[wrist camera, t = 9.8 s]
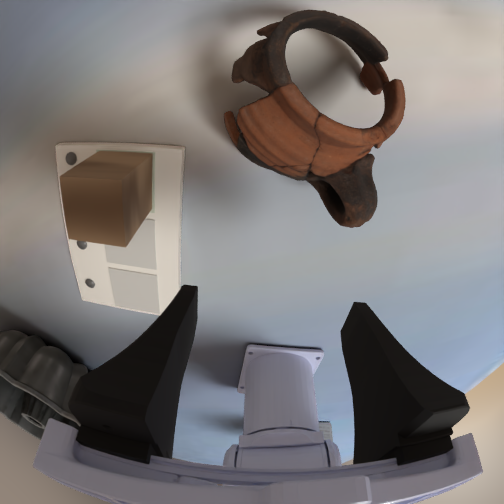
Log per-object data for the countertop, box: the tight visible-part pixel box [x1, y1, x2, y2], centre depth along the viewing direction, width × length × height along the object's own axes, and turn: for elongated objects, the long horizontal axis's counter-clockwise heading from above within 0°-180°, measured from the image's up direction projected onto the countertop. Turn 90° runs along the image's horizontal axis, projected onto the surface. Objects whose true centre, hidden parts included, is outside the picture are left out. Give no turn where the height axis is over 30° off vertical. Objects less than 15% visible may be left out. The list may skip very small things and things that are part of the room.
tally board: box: [55, 142, 185, 315], centre depth 22 cm, size 15×10×1 cm, turn 172°
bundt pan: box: [0, 330, 88, 440], centre depth 32 cm, size 26×26×10 cm
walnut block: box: [59, 151, 153, 248], centre depth 17 cm, size 4×4×5 cm
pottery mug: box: [224, 10, 405, 228], centre depth 15 cm, size 12×10×8 cm
